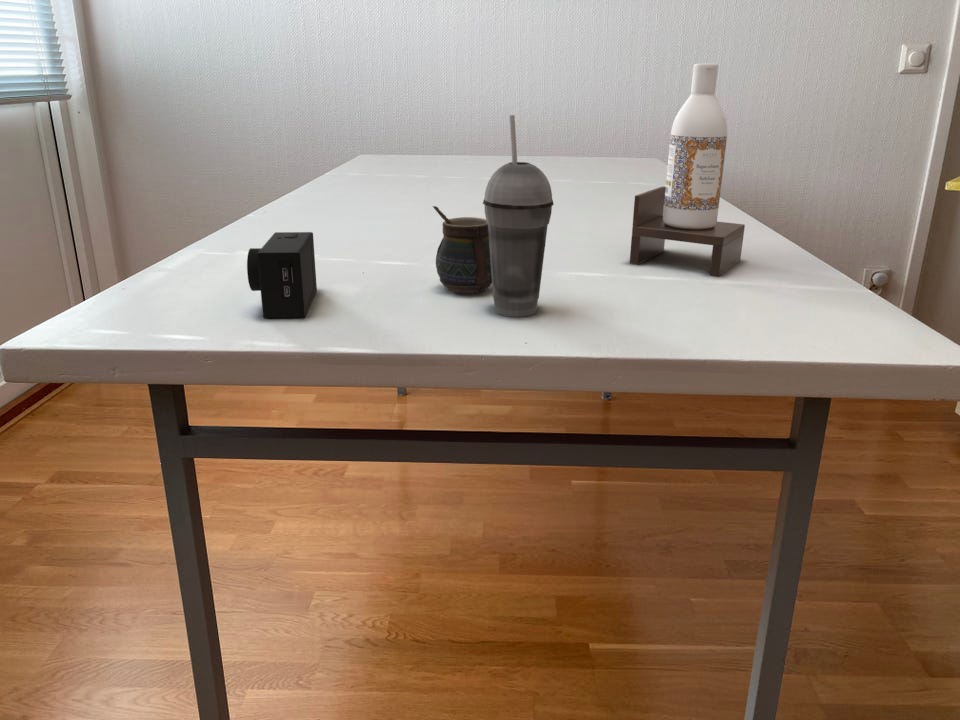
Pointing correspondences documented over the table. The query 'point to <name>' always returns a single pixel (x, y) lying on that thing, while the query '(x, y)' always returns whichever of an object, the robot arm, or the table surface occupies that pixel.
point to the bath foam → (696, 156)
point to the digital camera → (284, 274)
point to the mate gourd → (464, 255)
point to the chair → (680, 234)
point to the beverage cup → (517, 232)
